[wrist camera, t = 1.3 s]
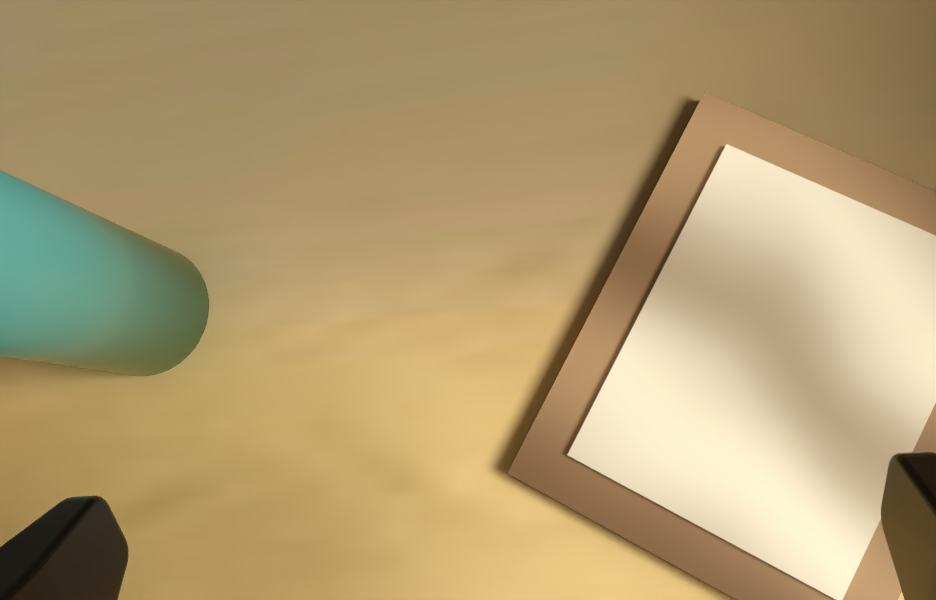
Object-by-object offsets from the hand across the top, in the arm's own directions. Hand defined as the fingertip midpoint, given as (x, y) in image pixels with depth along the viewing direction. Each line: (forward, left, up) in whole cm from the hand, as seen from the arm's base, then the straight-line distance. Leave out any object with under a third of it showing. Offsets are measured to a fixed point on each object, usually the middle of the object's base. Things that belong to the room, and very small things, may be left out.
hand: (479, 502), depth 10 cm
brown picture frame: (+5, -4, -14) cm, 15 cm away
